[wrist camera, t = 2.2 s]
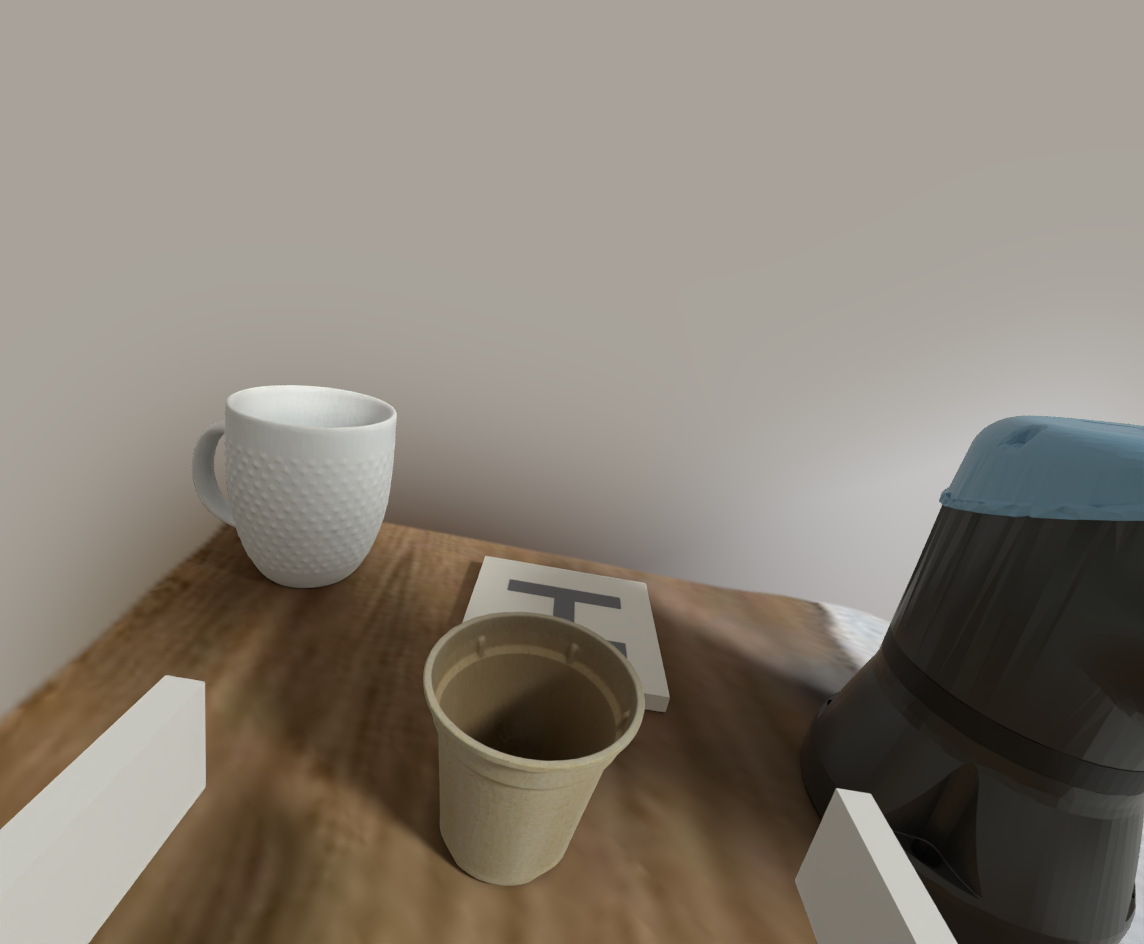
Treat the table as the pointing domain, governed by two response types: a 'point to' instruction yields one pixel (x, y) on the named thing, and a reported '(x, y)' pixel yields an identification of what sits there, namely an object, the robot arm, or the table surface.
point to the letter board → (579, 611)
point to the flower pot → (524, 736)
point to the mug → (301, 478)
